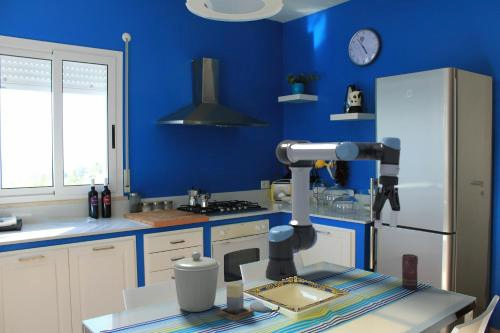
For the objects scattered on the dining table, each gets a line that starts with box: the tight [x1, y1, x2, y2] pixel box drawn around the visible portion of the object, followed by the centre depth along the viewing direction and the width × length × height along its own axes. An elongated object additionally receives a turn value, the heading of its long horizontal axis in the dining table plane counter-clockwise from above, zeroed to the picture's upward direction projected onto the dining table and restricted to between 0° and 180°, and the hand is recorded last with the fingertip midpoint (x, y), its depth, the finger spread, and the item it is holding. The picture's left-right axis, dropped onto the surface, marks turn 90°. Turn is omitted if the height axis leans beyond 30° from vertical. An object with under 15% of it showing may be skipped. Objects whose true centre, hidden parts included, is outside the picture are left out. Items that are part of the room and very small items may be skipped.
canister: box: [171, 251, 221, 313], centre depth 165 cm, size 18×18×21 cm
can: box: [401, 253, 419, 291], centre depth 188 cm, size 6×6×14 cm
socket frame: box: [216, 306, 255, 322], centre depth 157 cm, size 9×9×2 cm
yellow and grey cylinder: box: [226, 281, 245, 315], centre depth 157 cm, size 5×5×11 cm
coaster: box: [249, 300, 275, 313], centre depth 165 cm, size 11×11×1 cm
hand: (385, 227), depth 179 cm, fingers open, 13 cm apart
